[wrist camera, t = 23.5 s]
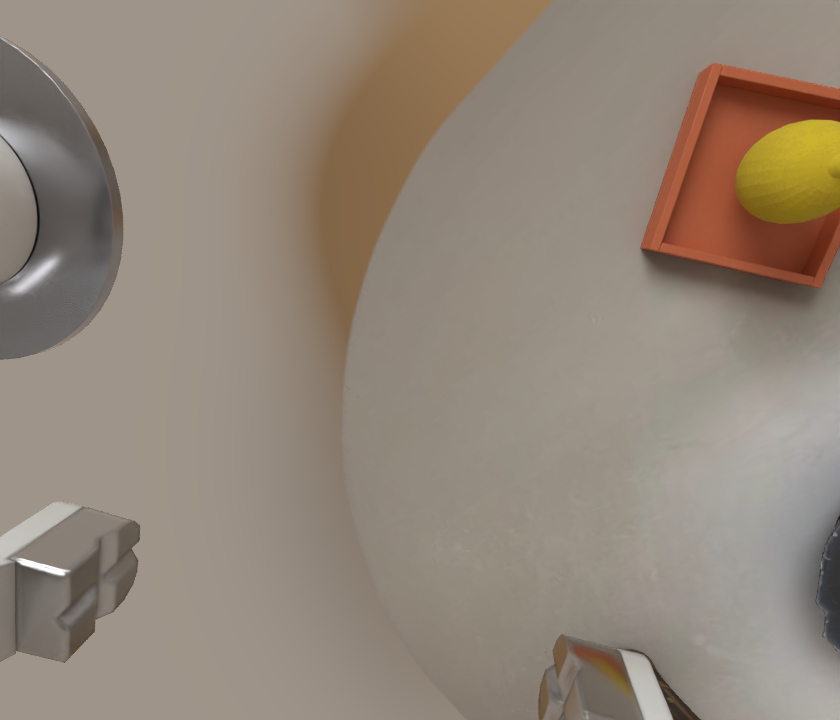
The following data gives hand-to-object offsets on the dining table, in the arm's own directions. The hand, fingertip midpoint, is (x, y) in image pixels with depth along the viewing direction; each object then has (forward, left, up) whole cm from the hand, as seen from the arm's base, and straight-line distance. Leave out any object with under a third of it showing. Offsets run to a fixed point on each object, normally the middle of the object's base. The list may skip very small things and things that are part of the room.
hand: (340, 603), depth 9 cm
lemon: (+18, +14, -29) cm, 37 cm away
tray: (+18, +14, -29) cm, 37 cm away
